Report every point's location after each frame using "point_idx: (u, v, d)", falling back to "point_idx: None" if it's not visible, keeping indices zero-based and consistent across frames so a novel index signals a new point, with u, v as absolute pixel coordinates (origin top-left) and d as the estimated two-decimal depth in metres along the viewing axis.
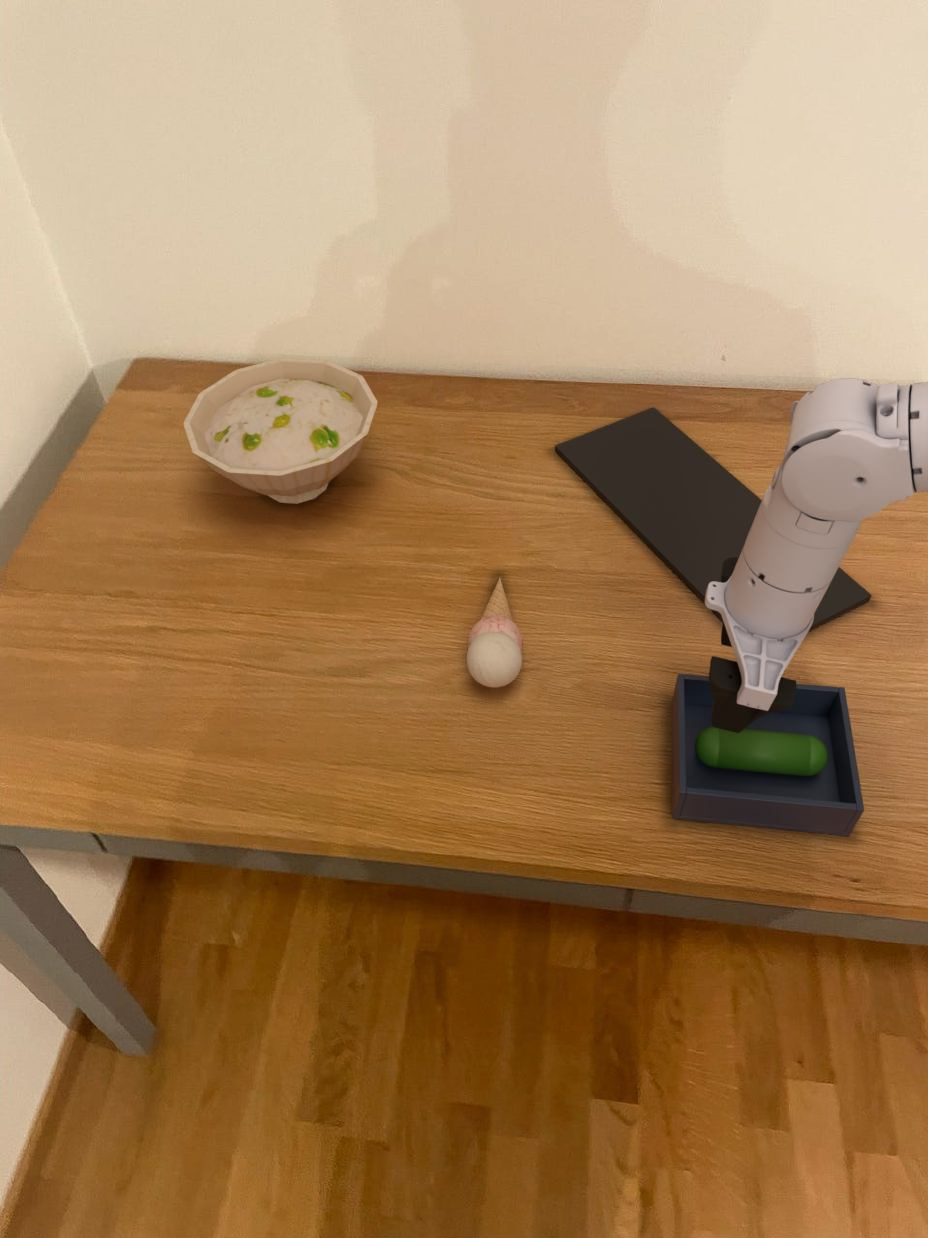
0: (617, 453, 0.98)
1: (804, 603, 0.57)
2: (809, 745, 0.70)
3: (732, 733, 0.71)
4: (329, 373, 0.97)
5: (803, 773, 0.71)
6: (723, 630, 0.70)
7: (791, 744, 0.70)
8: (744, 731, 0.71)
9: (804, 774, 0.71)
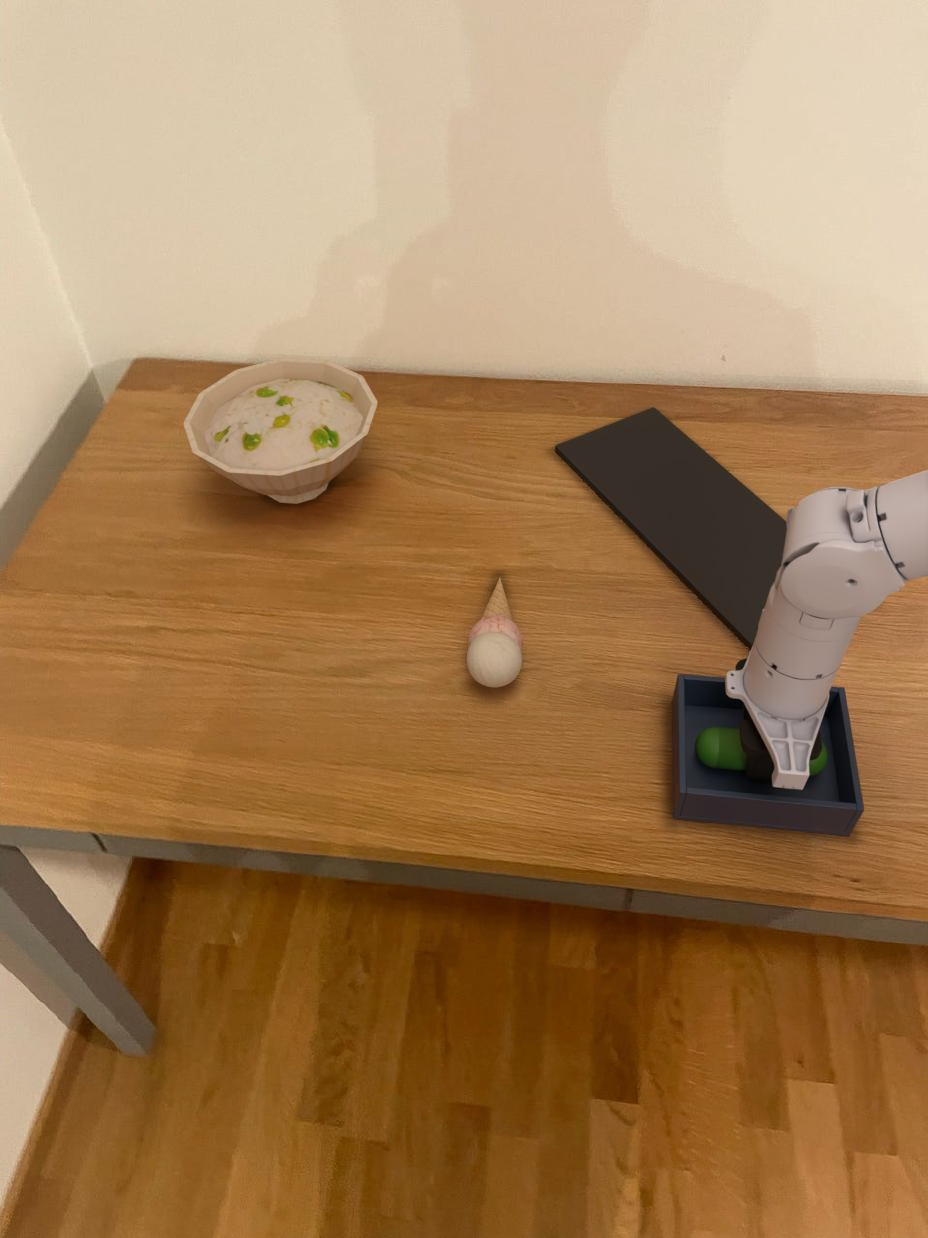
0: (617, 453, 0.98)
1: (820, 687, 0.61)
2: None
3: (732, 733, 0.71)
4: (329, 373, 0.97)
5: None
6: None
7: None
8: None
9: None
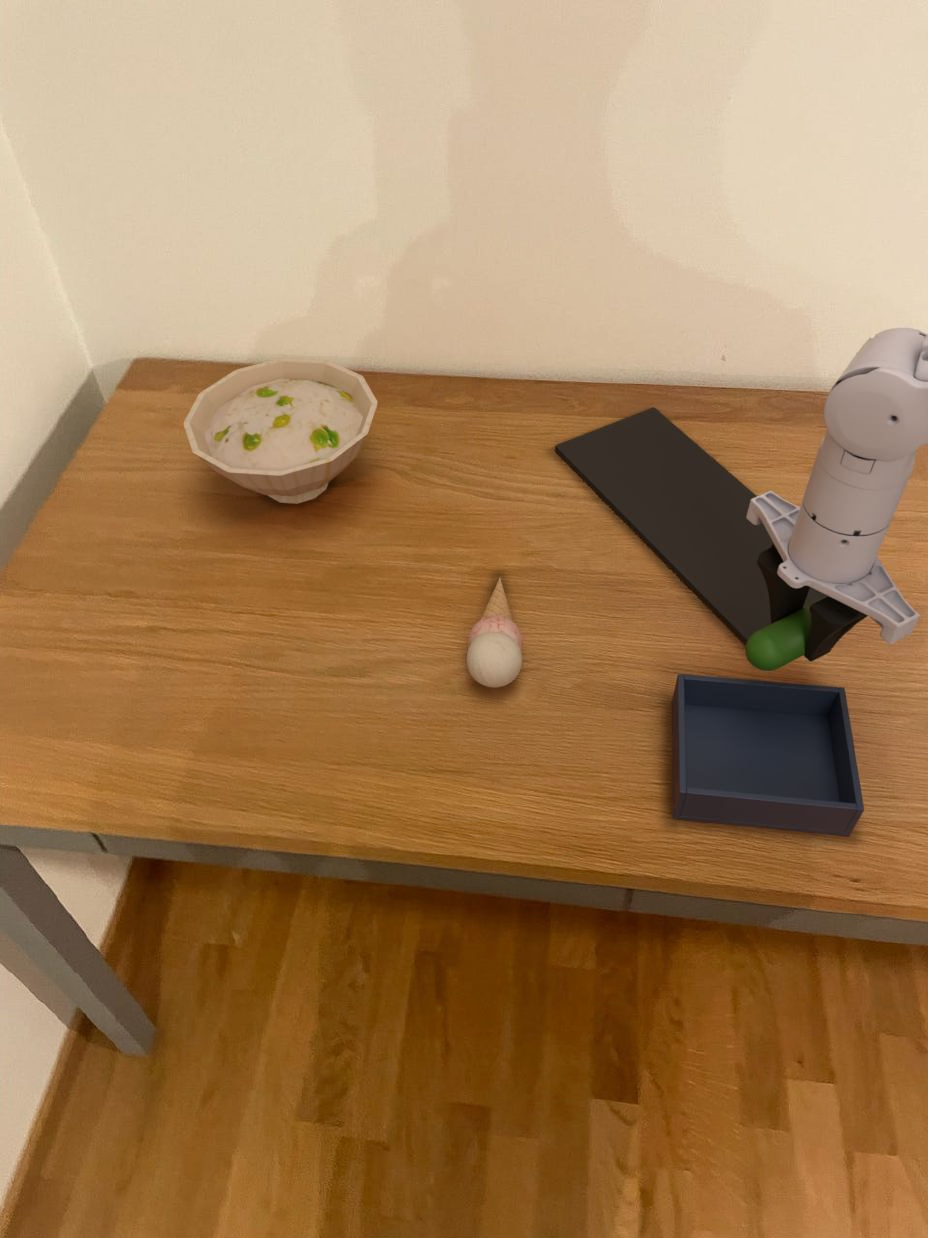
0: (617, 453, 0.98)
1: (886, 532, 0.61)
2: None
3: (779, 628, 0.69)
4: (329, 373, 0.97)
5: None
6: (777, 617, 0.71)
7: None
8: (785, 621, 0.70)
9: None
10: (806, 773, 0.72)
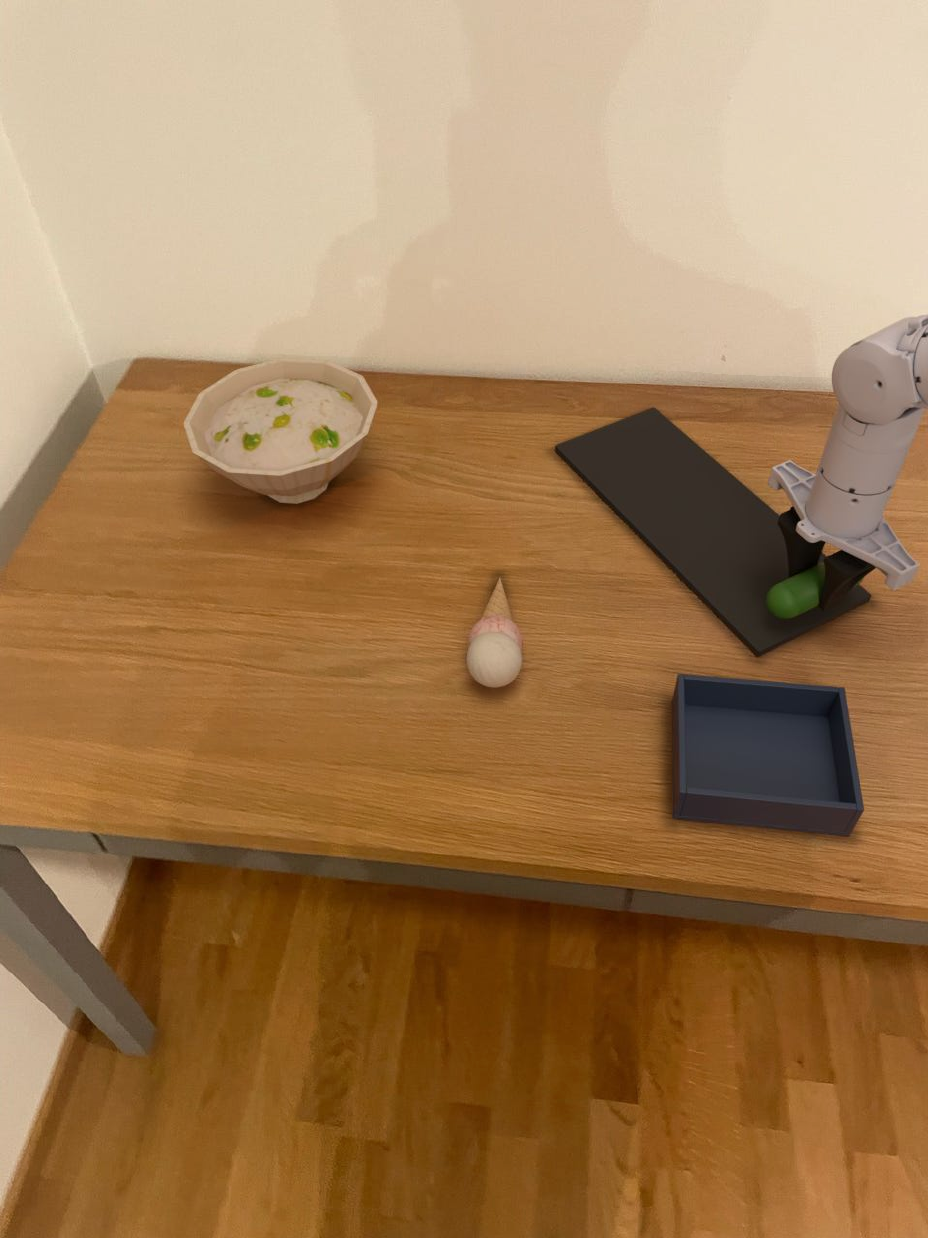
0: (617, 453, 0.98)
1: None
2: None
3: (796, 581, 0.79)
4: (329, 373, 0.97)
5: None
6: (795, 572, 0.80)
7: None
8: (801, 575, 0.80)
9: (856, 585, 0.81)
10: (806, 773, 0.72)
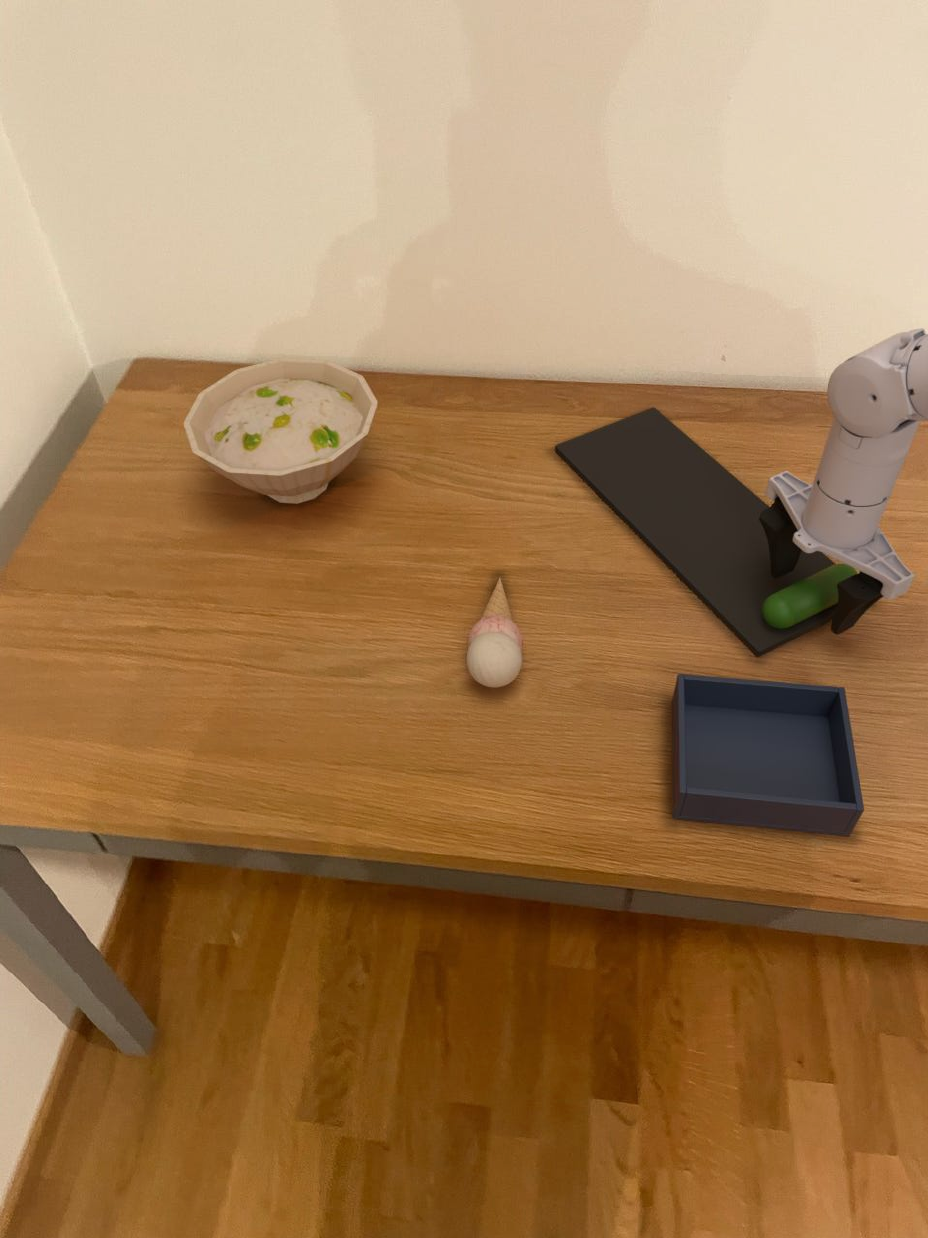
0: (617, 453, 0.98)
1: (886, 504, 0.71)
2: (844, 569, 0.81)
3: (790, 590, 0.80)
4: (329, 373, 0.97)
5: None
6: (776, 567, 0.83)
7: (833, 575, 0.81)
8: (795, 585, 0.81)
9: None
10: (806, 773, 0.72)
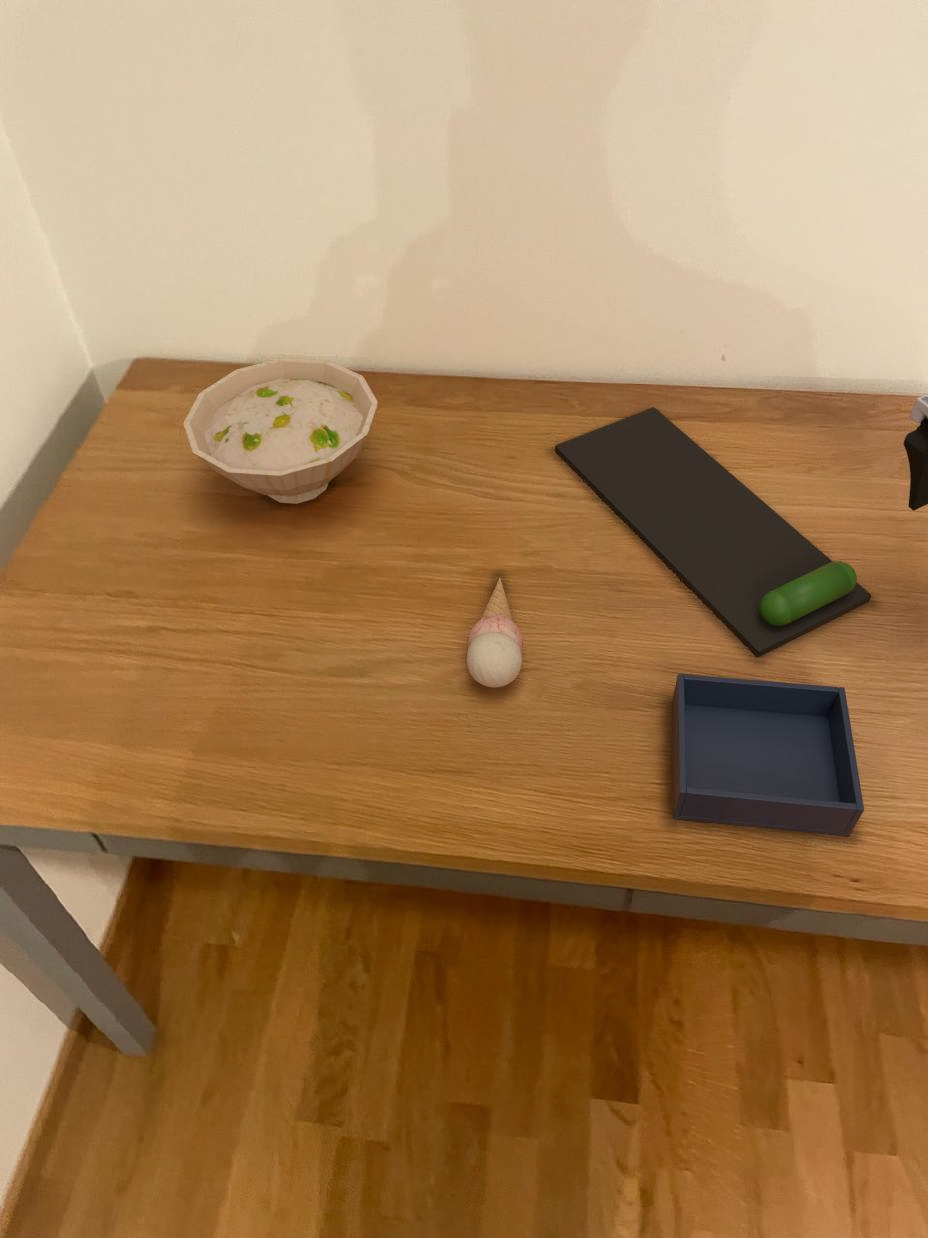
0: (617, 453, 0.98)
1: None
2: (838, 564, 0.82)
3: (784, 586, 0.81)
4: (329, 373, 0.97)
5: (848, 588, 0.82)
6: (917, 497, 0.77)
7: (827, 570, 0.82)
8: (789, 582, 0.81)
9: (849, 589, 0.82)
10: (806, 773, 0.72)
